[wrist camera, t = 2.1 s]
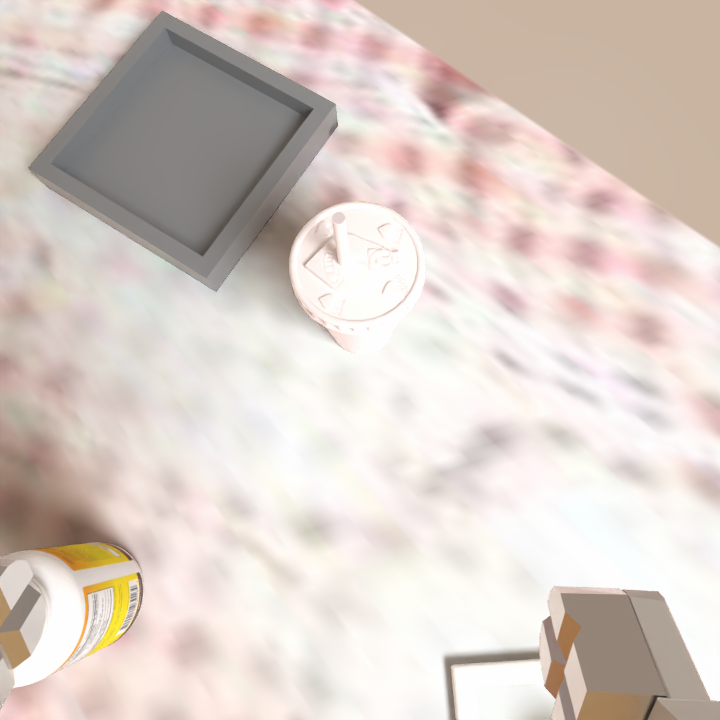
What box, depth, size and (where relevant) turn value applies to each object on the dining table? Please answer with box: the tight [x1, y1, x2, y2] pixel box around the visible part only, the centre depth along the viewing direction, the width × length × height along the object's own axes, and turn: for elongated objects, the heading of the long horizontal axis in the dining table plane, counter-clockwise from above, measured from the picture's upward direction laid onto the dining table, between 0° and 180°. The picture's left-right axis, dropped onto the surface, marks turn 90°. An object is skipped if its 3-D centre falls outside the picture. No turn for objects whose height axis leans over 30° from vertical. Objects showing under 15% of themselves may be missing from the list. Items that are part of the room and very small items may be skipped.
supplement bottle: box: [0, 542, 144, 687], centre depth 29 cm, size 6×6×10 cm
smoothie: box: [289, 201, 425, 355], centre depth 30 cm, size 6×6×14 cm
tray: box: [29, 11, 338, 291], centre depth 39 cm, size 14×14×2 cm
